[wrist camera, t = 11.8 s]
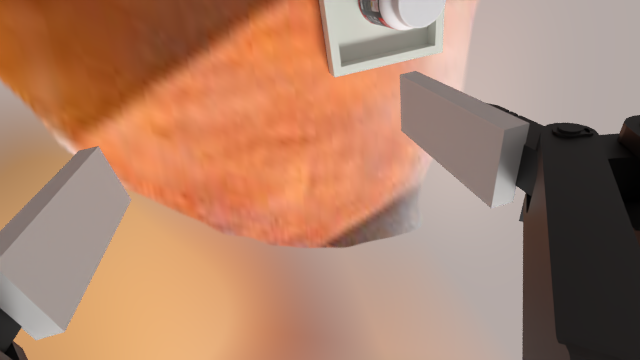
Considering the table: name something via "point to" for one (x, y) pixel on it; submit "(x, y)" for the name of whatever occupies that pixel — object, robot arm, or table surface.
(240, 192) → the table surface
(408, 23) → the pill bottle
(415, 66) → the table surface
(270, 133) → the table surface
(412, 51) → the tray
